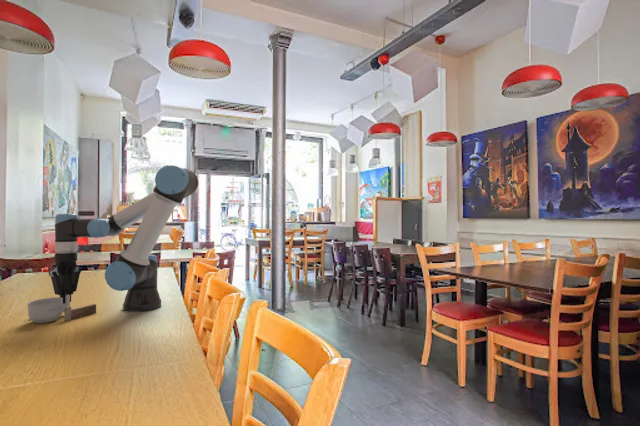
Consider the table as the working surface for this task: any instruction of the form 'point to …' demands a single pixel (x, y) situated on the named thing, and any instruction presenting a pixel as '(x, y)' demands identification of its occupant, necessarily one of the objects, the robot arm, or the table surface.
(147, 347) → the table surface
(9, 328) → the table surface
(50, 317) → the teacup
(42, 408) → the table surface
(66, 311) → the brown parallel rails
